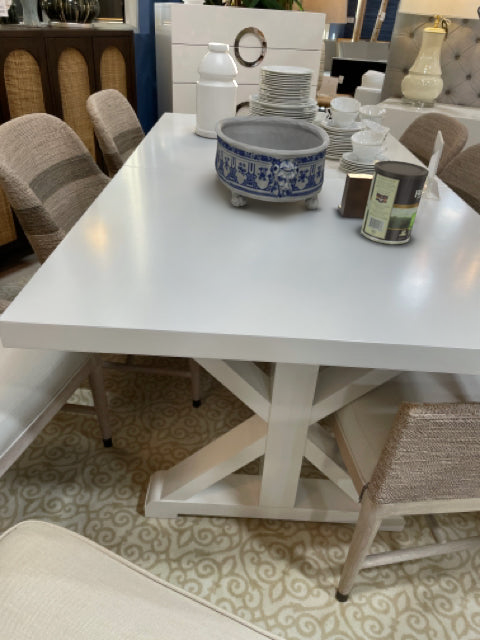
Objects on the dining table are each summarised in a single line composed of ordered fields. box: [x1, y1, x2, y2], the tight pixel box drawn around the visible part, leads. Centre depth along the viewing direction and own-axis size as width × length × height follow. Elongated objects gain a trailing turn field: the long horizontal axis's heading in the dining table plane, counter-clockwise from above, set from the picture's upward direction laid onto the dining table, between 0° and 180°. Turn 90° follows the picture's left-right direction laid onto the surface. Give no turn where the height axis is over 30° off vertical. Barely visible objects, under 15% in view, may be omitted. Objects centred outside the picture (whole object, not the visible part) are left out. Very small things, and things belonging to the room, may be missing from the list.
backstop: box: [337, 173, 373, 219], centre depth 107 cm, size 16×5×9 cm, turn 93°
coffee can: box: [360, 160, 430, 245], centre depth 96 cm, size 10×10×14 cm
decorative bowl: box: [214, 115, 331, 210], centre depth 115 cm, size 42×27×15 cm, turn 8°
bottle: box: [195, 42, 239, 140], centre depth 160 cm, size 14×14×28 cm
